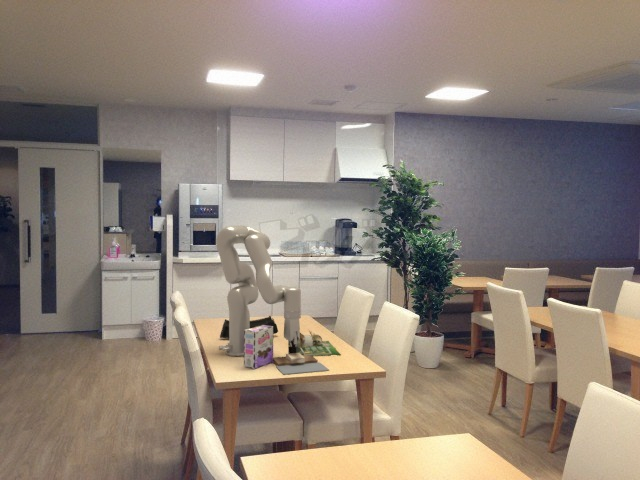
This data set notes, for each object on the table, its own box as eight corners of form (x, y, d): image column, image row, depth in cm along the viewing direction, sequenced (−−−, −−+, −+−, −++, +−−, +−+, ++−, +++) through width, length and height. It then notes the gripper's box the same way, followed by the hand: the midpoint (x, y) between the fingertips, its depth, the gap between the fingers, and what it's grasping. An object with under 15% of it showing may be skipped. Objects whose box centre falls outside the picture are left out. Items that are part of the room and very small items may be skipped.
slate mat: (283, 374, 231) (283, 374, 231) (275, 367, 242) (275, 366, 242) (329, 370, 238) (329, 369, 238) (319, 363, 249) (319, 362, 249)
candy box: (254, 369, 239) (254, 331, 238) (243, 367, 242) (243, 329, 241) (273, 362, 250) (274, 325, 249) (263, 360, 253) (263, 324, 252)
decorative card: (288, 327, 291) (326, 326, 295) (288, 341, 292) (326, 340, 295) (298, 341, 259) (340, 340, 263) (298, 358, 260) (340, 356, 263)
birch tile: (291, 363, 243) (291, 358, 243) (285, 358, 252) (285, 353, 251) (304, 362, 245) (304, 357, 245) (298, 357, 253) (298, 352, 253)
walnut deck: (278, 367, 243) (278, 363, 243) (272, 361, 252) (272, 357, 252) (317, 363, 249) (317, 360, 249) (310, 357, 258) (310, 354, 258)
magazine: (215, 323, 290) (270, 304, 298) (214, 322, 293) (269, 303, 301) (225, 354, 292) (279, 334, 301) (224, 352, 295) (278, 333, 304)
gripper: (279, 312, 259) (279, 351, 260) (289, 318, 245) (289, 360, 246) (295, 311, 262) (295, 350, 263) (305, 317, 248) (305, 358, 249)
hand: (292, 355), depth 254 cm, fingers closed
